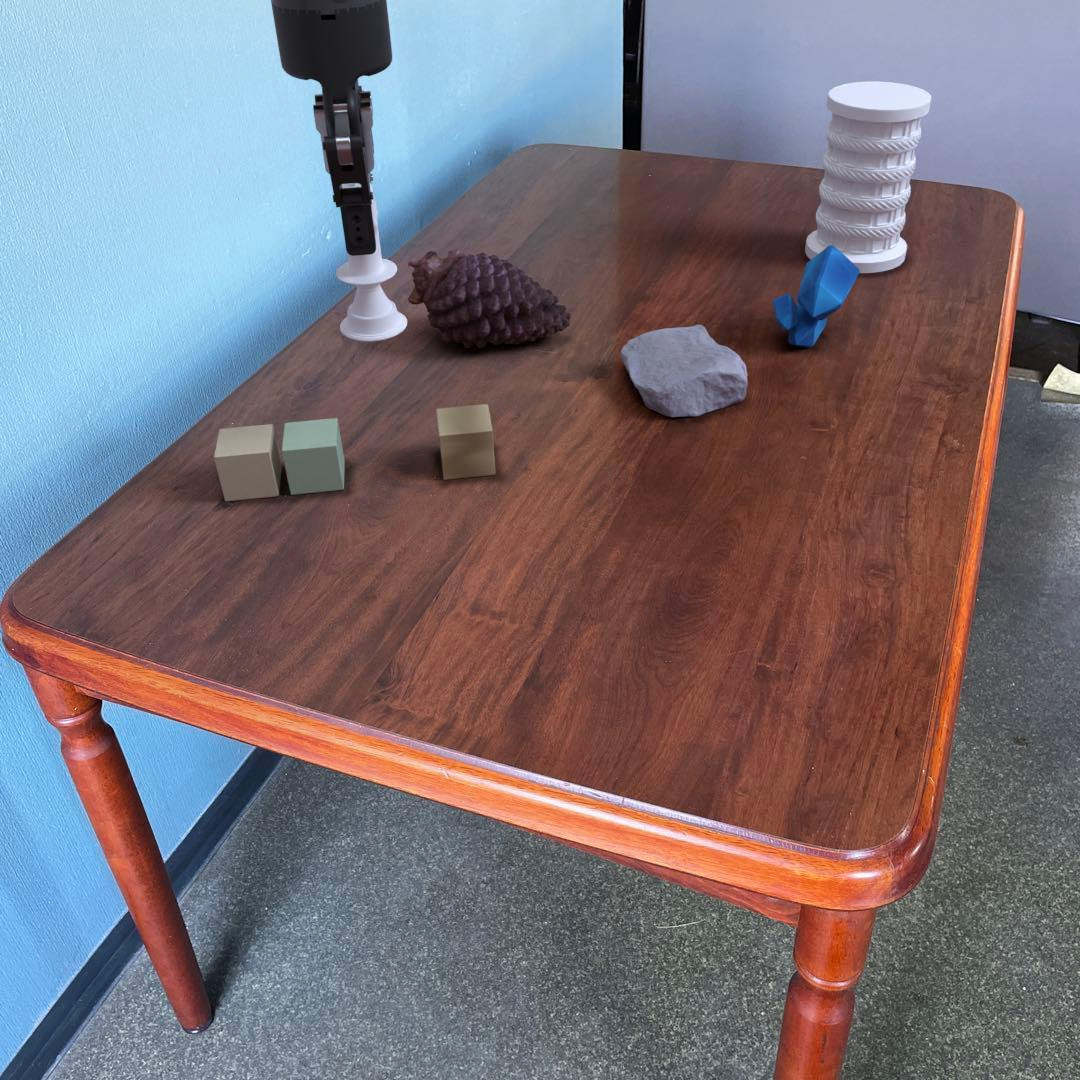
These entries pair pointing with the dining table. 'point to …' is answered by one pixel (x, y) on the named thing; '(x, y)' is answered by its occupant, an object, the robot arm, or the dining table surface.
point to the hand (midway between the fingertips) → (361, 244)
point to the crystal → (816, 296)
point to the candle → (370, 293)
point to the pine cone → (484, 300)
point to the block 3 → (466, 441)
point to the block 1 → (248, 462)
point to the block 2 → (313, 456)
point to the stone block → (684, 371)
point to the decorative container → (868, 172)
